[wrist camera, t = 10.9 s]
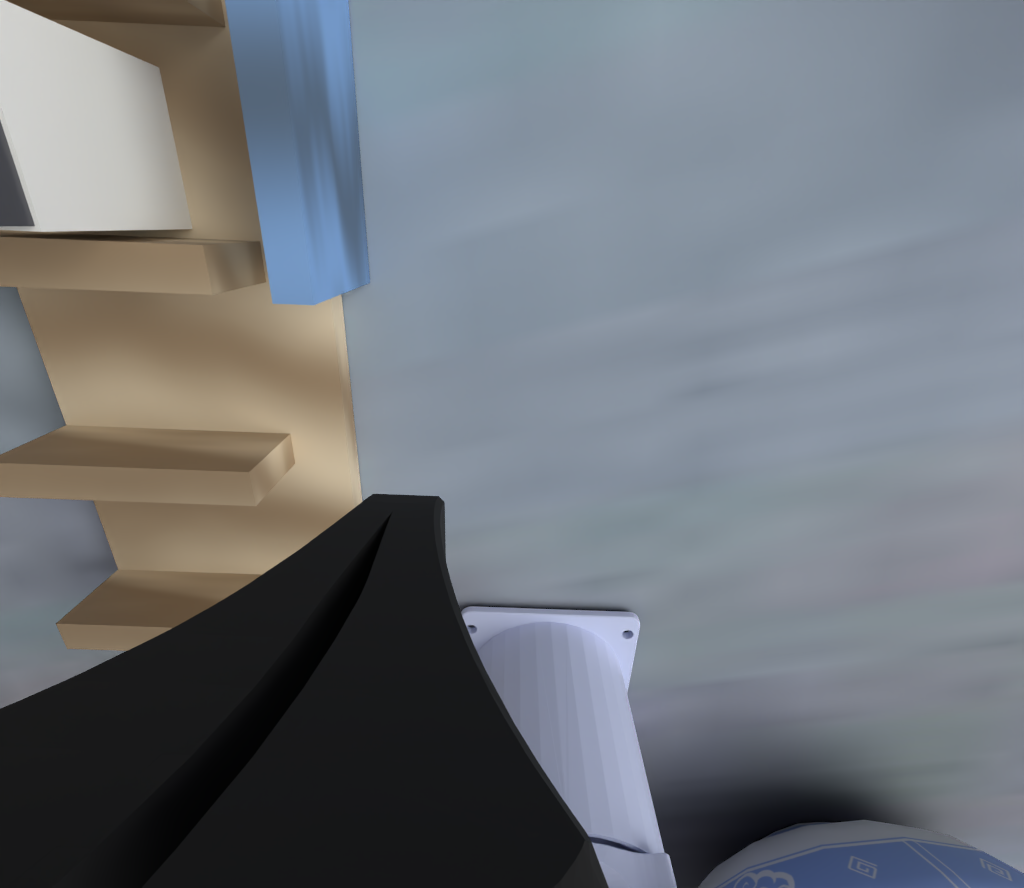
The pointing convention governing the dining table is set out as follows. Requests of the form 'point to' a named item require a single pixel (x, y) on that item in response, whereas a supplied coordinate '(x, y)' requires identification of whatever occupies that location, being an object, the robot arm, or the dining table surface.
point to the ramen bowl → (861, 860)
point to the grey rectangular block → (82, 134)
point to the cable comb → (206, 316)
